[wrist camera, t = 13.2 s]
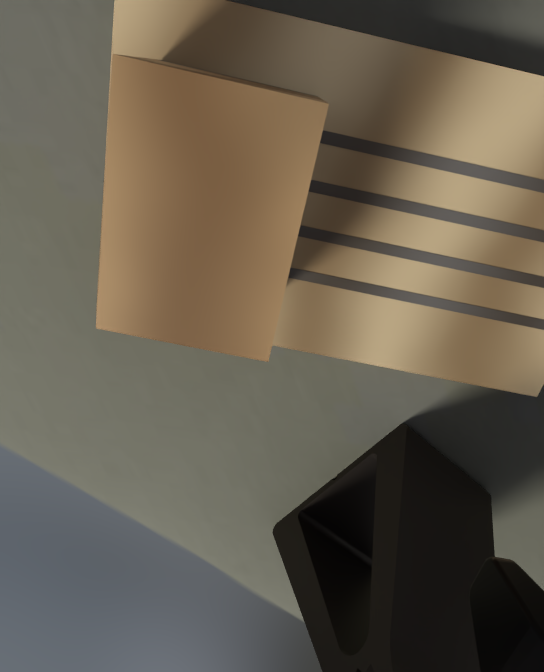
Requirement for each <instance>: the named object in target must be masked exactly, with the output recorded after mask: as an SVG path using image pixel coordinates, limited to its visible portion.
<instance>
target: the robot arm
mask: <svg viewBox="0 0 544 672" xmlns="http://www.w3.org/2000/svg"><path fill="white" fill-rule="evenodd" d="M469 603H470V610H471V616H472V622H473V629H474V635H475V642H476V648H477V654H478V661H479V667H480V672H544V591H543V590H542V589H541V588H540V587H539V586H538V585H537V584H536V583H535V582H534V581H533V580H532V579H531V578H530V577H529V576H528V575H527V573H526V572H525V571H524V570H523V569H522V568H521V567H520V566H519V565H518V564H516V563H515V562H514V561H512V560H509V559H504V558H498V557H489V558H487V559H486V560H485V562H484V563H483V565H482V567H481V569H480V571H479V572H478V574H477V576H476V578H475V579H474V581H473V583H472V585H471V587H470V591H469Z"/></svg>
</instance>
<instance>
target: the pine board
mask: <svg viewBox="0 0 544 672" xmlns="http://www.w3.org/2000/svg"><path fill="white" fill-rule="evenodd" d="M113 54H118V55H126V56H134V57H142V58H150V59H158V60H163V61H168V62H172V63H176V64H181V65H185V66H189V67H194V68H198V69H202V70H207V71H211V72H215V73H220V74H224V75H228V76H232V77H237V78H241V79H245V80H250V81H254V82H258V83H263V84H267V85H271V86H276V87H280V88H284V89H288V90H293V91H297V92H301V93H306V94H310V95H314V96H318V97H320V98H321V99H323V100H324V101H326V102H327V103H328V104H329V106H328V111H327V115H326V119H325V123H324V127H323V132H322V136H321V140H320V144H319V149H318V153H317V157H316V161H315V166H314V170H313V174H312V178H311V183H310V187H309V191H308V195H307V200H306V204H305V208H304V212H303V216H302V221H301V225H300V229H299V233H298V238H297V242H296V246H295V250H294V255H293V259H292V263H291V267H290V272H289V276H288V280H287V284H286V288H285V293H284V297H283V301H282V305H281V310H280V314H279V318H278V322H277V327H276V331H275V335H274V339H273V344H272V345H273V346H279V347H284V348H289V349H294V350H299V351H304V352H309V353H314V354H319V355H325V356H330V357H335V358H340V359H345V360H350V361H355V362H360V363H366V364H371V365H376V366H381V367H386V368H391V369H396V370H401V371H406V372H412V373H417V374H422V375H427V376H432V377H437V378H442V379H447V380H452V381H458V382H463V383H468V384H473V385H478V386H483V387H488V388H493V389H498V390H504V391H509V392H514V393H519V394H524V395H529V396H534V397H537V396H538V394H539V392H540V390H541V388H542V386H543V384H544V76H540V75H536V74H531V73H527V72H523V71H519V70H515V69H511V68H506V67H502V66H498V65H494V64H490V63H486V62H481V61H477V60H473V59H469V58H465V57H461V56H456V55H452V54H448V53H444V52H440V51H436V50H431V49H427V48H423V47H419V46H415V45H411V44H406V43H402V42H398V41H394V40H390V39H386V38H381V37H377V36H373V35H369V34H365V33H361V32H356V31H352V30H348V29H344V28H340V27H335V26H331V25H327V24H323V23H319V22H315V21H310V20H306V19H302V18H298V17H294V16H290V15H285V14H281V13H277V12H273V11H269V10H265V9H260V8H256V7H252V6H248V5H244V4H240V3H235V2H231V1H227V0H115V3H114V20H113V37H112V54H111V71H110V88H111V72H112V55H113ZM110 88H109V105H110ZM109 105H108V121H109ZM107 137H108V122H107ZM106 154H107V139H106ZM105 170H106V156H105ZM104 186H105V173H104ZM103 203H104V190H103ZM102 219H103V207H102ZM101 235H102V224H101ZM100 252H101V241H100ZM99 268H100V258H99ZM98 284H99V275H98ZM97 301H98V292H97ZM96 311H97V309H96Z"/></svg>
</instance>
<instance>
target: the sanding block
mask: <svg viewBox="0 0 544 672" xmlns="http://www.w3.org/2000/svg"><path fill="white" fill-rule="evenodd" d="M328 106H329V104H328V103H327V102H326V101H324V100H323V99H321V98H320V97H318V96H314V95H310V94H306V93H301V92H297V91H293V90H288V89H284V88H280V87H276V86H271V85H267V84H263V83H258V82H254V81H250V80H245V79H241V78H237V77H232V76H228V75H224V74H220V73H215V72H211V71H207V70H202V69H198V68H194V67H189V66H185V65H181V64H176V63H172V62H168V61H163V60H158V59H150V58H142V57H134V56H126V55H118V54H113V55H112V72H111V88H110V105H109V121H108V137H107V154H106V170H105V186H104V203H103V219H102V235H101V252H100V268H99V284H98V301H97V317H96V328H97V329H102V330H107V331H112V332H117V333H123V334H128V335H133V336H138V337H143V338H148V339H153V340H159V341H164V342H169V343H174V344H179V345H184V346H189V347H194V348H200V349H205V350H210V351H215V352H220V353H225V354H230V355H236V356H241V357H246V358H251V359H256V360H261V361H266V362H268V361H269V356H270V352H271V348H272V344H273V339H274V335H275V331H276V327H277V322H278V318H279V314H280V310H281V305H282V301H283V297H284V293H285V288H286V284H287V280H288V276H289V272H290V267H291V263H292V259H293V255H294V250H295V246H296V242H297V238H298V233H299V229H300V225H301V221H302V216H303V212H304V208H305V204H306V200H307V195H308V191H309V187H310V183H311V178H312V174H313V170H314V166H315V161H316V157H317V153H318V149H319V144H320V140H321V136H322V132H323V127H324V123H325V119H326V115H327V111H328Z"/></svg>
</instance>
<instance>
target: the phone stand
mask: <svg viewBox="0 0 544 672" xmlns="http://www.w3.org/2000/svg"><path fill="white" fill-rule="evenodd" d="M273 536H274V538H275V541H276V544H277V547H278V549H279V552H280V555H281V558H282V560H283V563H284V566H285V569H286V572H287V574H288V577H289V580H290V583H291V585H292V588H293V591H294V594H295V597H296V599H297V602H298V605H299V608H300V610H301V613H302V616H303V619H304V622H305V624H306V627H307V630H308V632H309V635H310V638H311V641H312V643H313V647H314V649H315V652H316V655H317V658H318V660H319V663H320V666H321V669H322V671H323V672H480V667H479V661H478V654H477V648H476V642H475V635H474V629H473V622H472V616H471V610H470V603H469V591H470V587H471V585H472V583H473V581H474V579H475V578H476V576H477V574H478V572H479V571H480V569H481V567H482V565H483V563H484V562H485V560H486V559H487V558H489V557H495V555H494V539H493V523H492V507H491V495H490V494H489V493H488V492H487V491H486V490H484V489H483V488H482V487H481V486H480V485H478V484H477V483H476V482H475V481H473V480H472V479H471V478H470V477H469V476H467V475H466V474H465V473H464V472H463V471H461V470H460V469H459V468H458V467H456V466H455V465H454V464H453V463H452V462H450V461H449V460H448V459H447V458H446V457H444V456H443V455H442V454H441V453H439V452H438V451H437V450H436V449H435V448H433V447H432V446H431V445H430V444H429V443H427V442H426V441H425V440H424V439H422V438H421V437H420V436H419V435H418V434H416V433H415V432H414V431H413V430H411V429H410V428H409V427H408V426H407V425H405V424H401V425H399V426H398V427H397V428H395V429H394V430H393V431H392V432H390V433H389V434H388V435H387V436H385V437H384V438H383V439H382V440H380V441H379V442H378V443H377V444H375V445H374V446H373V447H372V448H370V449H369V450H368V451H367V452H365V453H364V454H363V455H362V456H360V457H359V458H358V459H357V460H355V461H354V462H353V463H352V464H350V465H349V466H348V467H347V468H345V469H344V470H343V471H342V472H340V473H339V474H338V475H337V478H336V479H335V480H330V481H329V482H328V483H327V484H325V485H324V486H323V487H322V488H320V489H319V490H318V491H317V492H315V493H314V494H313V495H312V496H310V497H309V498H308V499H307V500H305V501H304V502H303V503H302V504H300V505H299V506H298V507H297V508H295V509H294V510H293V511H292V512H290V513H289V514H288V515H287V516H285V517H284V518H283V519H282V520H280V521H279V522H278V523H277V524H276V525H275V527H274V529H273Z"/></svg>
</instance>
